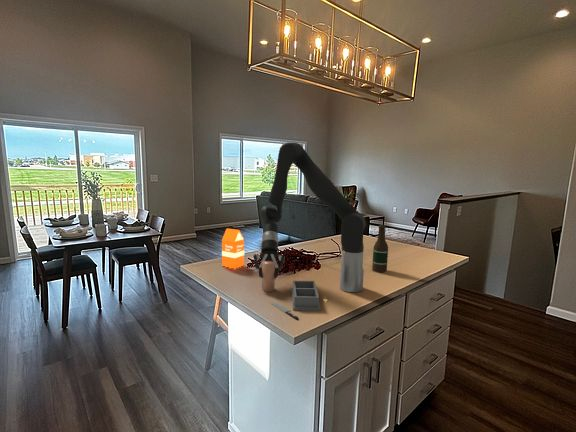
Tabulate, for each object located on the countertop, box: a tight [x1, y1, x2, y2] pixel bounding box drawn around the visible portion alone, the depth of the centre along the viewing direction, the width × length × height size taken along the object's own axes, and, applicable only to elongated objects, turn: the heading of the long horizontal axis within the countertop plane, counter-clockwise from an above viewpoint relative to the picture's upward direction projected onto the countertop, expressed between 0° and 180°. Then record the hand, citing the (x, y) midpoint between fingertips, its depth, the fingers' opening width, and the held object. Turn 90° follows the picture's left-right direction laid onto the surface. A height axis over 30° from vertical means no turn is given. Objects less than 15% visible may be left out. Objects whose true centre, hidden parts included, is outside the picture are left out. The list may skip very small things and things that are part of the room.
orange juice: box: [221, 228, 245, 270], centre depth 162 cm, size 8×9×20 cm
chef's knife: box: [268, 301, 300, 321], centre depth 114 cm, size 19×1×3 cm
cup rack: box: [291, 280, 321, 312], centre depth 123 cm, size 10×20×4 cm, turn 1°
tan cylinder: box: [261, 261, 276, 293], centre depth 132 cm, size 6×6×12 cm
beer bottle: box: [371, 224, 389, 274], centre depth 160 cm, size 8×8×24 cm
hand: (268, 277), depth 130 cm, fingers closed on tan cylinder, 5 cm apart
